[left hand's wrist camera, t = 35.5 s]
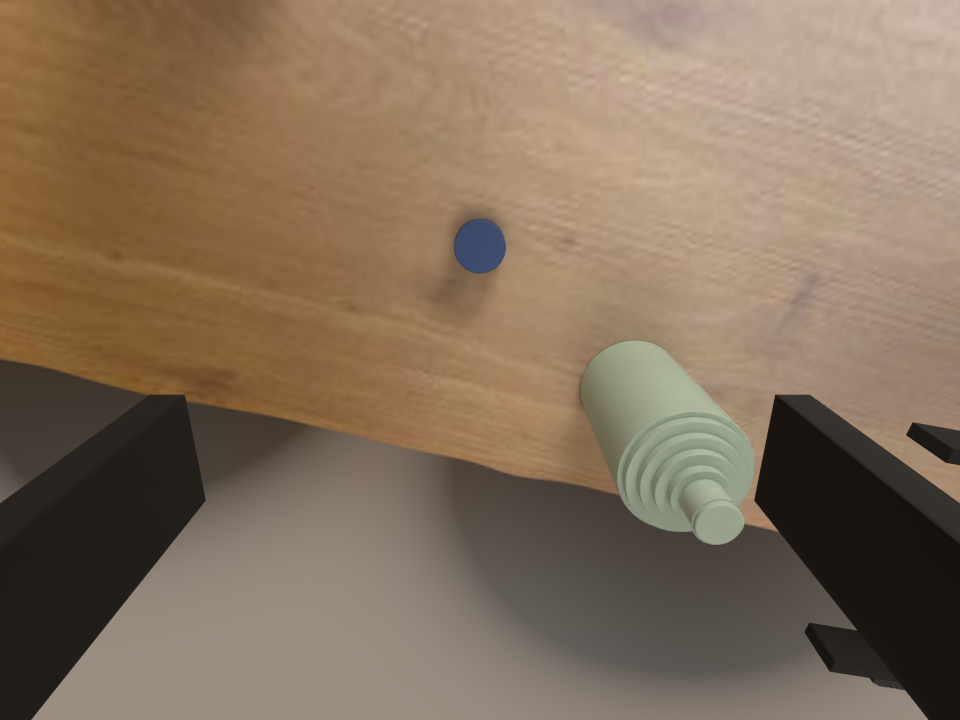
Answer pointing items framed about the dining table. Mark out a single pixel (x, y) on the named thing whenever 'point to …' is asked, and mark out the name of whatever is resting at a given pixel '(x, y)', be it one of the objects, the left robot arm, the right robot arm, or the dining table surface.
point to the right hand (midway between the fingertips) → (868, 552)
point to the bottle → (667, 442)
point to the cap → (479, 246)
